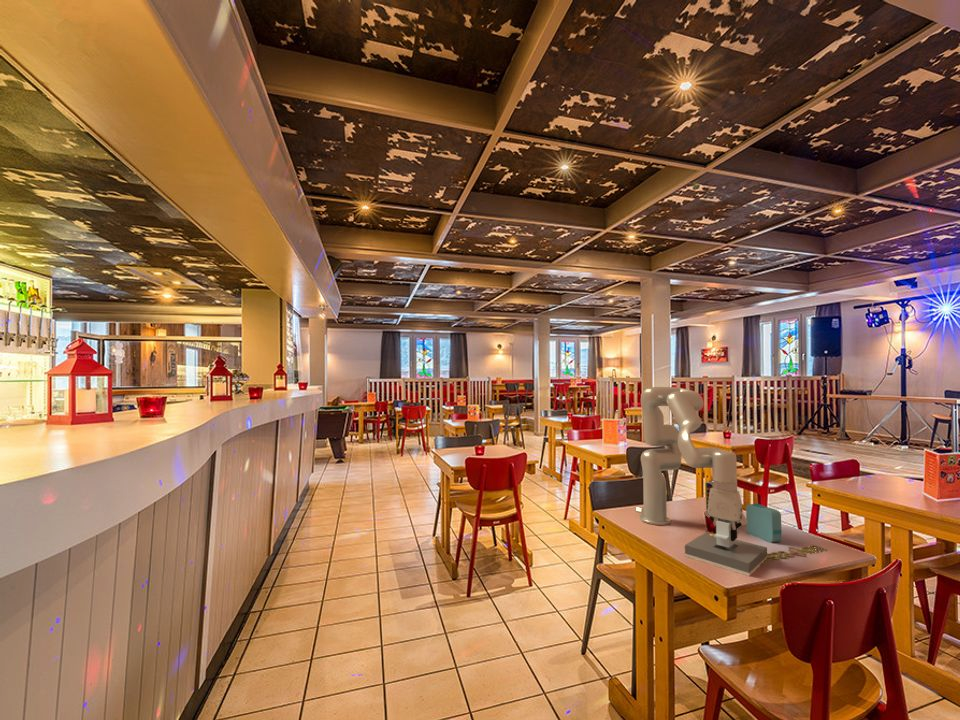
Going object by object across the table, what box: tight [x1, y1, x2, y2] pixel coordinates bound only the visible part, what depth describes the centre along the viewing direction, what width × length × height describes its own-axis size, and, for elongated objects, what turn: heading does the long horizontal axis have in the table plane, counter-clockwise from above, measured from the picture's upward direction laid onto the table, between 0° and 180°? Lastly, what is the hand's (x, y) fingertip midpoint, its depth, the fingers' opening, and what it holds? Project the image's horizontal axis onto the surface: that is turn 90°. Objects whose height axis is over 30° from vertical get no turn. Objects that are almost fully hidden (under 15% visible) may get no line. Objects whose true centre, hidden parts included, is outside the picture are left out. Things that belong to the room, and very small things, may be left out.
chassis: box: [684, 531, 768, 577], centre depth 150 cm, size 20×20×4 cm
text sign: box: [759, 544, 826, 567], centre depth 153 cm, size 40×1×8 cm
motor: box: [705, 482, 713, 511], centre depth 191 cm, size 10×9×20 cm
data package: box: [745, 503, 783, 543], centre depth 170 cm, size 12×4×12 cm, turn 14°
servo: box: [714, 519, 739, 548], centre depth 150 cm, size 4×12×9 cm, turn 132°
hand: (726, 537), depth 150 cm, fingers closed on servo, 4 cm apart
